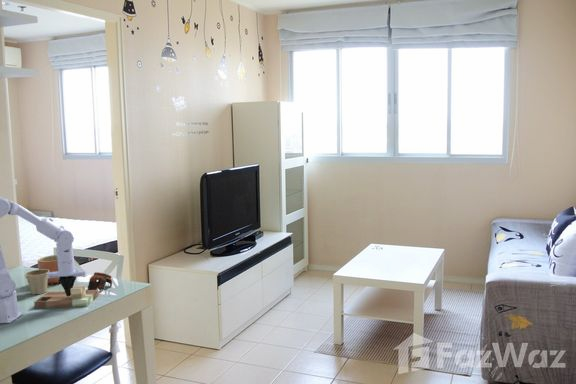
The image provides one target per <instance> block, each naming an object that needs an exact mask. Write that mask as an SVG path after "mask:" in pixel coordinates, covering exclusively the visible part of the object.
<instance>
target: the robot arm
mask: <svg viewBox="0 0 576 384" xmlns="http://www.w3.org/2000/svg"><path fill="white" fill-rule="evenodd" d="M6 215H9V216H19V217H20V218H22V220H25V221H27V222H28V223H30V224H32V225H34V226H35V228H36V229H35V230H36V232H38V233H40V234H42V235H43V236H45V237H47V238H48V239H50V240H53V241H54V242H55V244H56V255H57V259H58V270H59V271H57V272H49V273H47V278H58V277H60V279H59V283H58V284H60V285H61V287H62V288H63V290H64V291H65V293H66V296H71V290H70V289H71V288H72V287H74V286H75V282H76V279H77V278H80V277H81V278H86V277H87V276H88V270H79V269H77V270H76V268H75V267H76V266H75V258H74V249H73V243H74V240H75V237H74V235H73V233H72V232H71V231H69V230H67V229H66V228H65V226H63V225H59V224H58V223H56V222H54V219H52V218H50V217H49V218H47V217H43V218H41V217H40V216H37V215H36V214H34V213H33V212H31V211H30V210H29V209H27V208H25V207H23V205H20V204H18V203H16V202H14V201H12V200H10V199H7V198H5V197H3V196H1V195H0V219H1V218H3V217H4V216H6ZM10 275H11V274H10V272H9V270H8V267H7V265H6V260H5V257H4V254H3V251H2V248H1V245H0V324H10V323H13V322H14V321H15V320H17V319H18V318H20V317H21V316H22V315H24V312H20V311H19V308H18V307H19V306H18V298H17V290H16V282H15V281H14V280H13V279H12V278H11V276H10Z"/></svg>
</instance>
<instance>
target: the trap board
mask: <svg viewBox="0 0 576 384" xmlns="http://www.w3.org/2000/svg"><path fill="white" fill-rule="evenodd" d="M85 291H86V296H85V297H83V298H82V299H71V296H66V293H65V290H64V291H62V290H60V291H47V292H45V293H44V294H43V295H42V296H40V297H39V298H38V299H36V300H34V302H33V304H34V309H45V308H47V309H48V308H70V307H71V308H72V307H73V308H74V307H76V308H77V307H88V306H89V305H90V304H92V303H93V302H94V301H95V300H96V299H97V298H99V297H100V295H99V289H97V290H88V289H87V290H86V289H85Z"/></svg>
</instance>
